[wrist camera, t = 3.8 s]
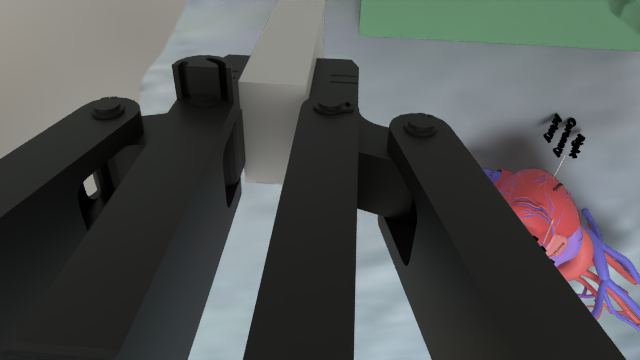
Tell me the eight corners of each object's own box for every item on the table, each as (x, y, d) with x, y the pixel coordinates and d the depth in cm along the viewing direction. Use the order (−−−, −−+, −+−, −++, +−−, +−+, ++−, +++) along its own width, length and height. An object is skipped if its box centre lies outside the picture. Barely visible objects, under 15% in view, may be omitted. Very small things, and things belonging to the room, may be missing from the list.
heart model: (511, 72, 39) (702, 212, 41) (437, 143, 46) (602, 259, 48) (479, 223, 28) (746, 408, 30) (387, 286, 35) (607, 432, 37)
